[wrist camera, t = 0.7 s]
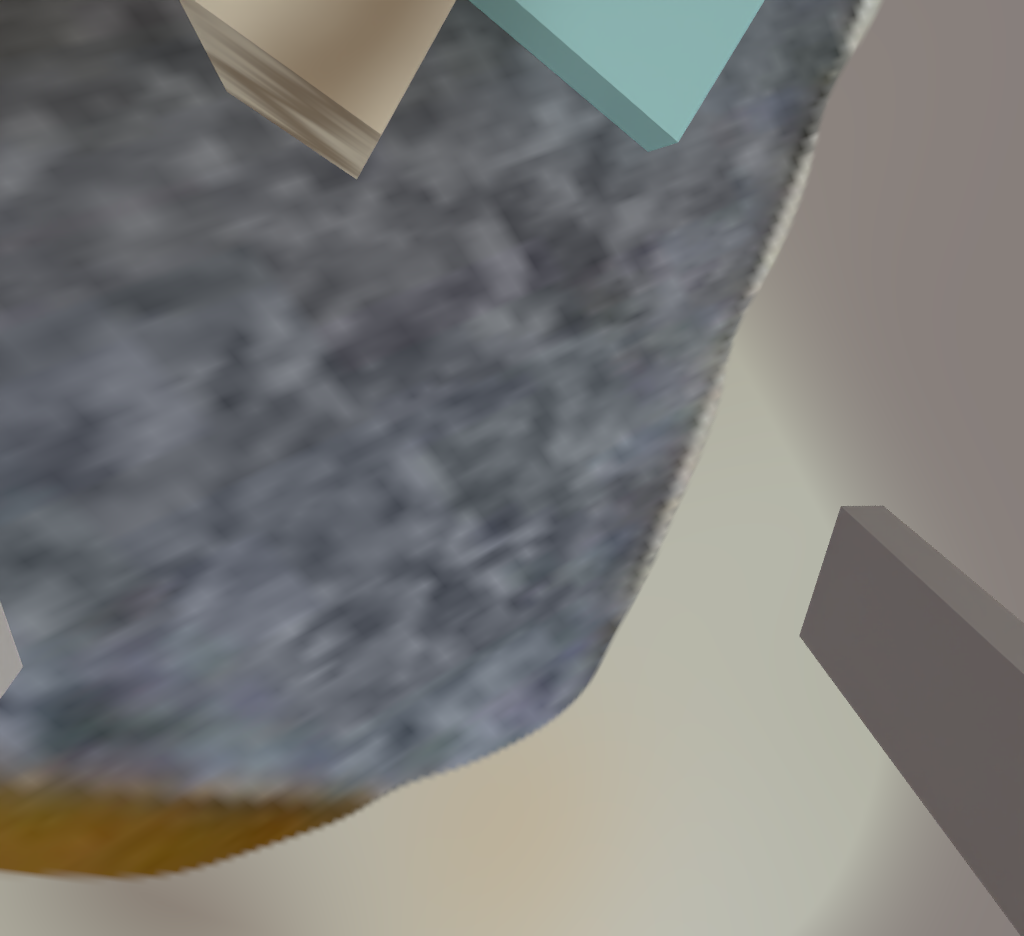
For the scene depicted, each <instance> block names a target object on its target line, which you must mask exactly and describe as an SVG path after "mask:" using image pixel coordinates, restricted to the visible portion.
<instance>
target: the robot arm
mask: <svg viewBox="0 0 1024 936" xmlns="http://www.w3.org/2000/svg"><path fill="white" fill-rule="evenodd" d="M800 637H801V639H802V640H803V641H804V643H805V644H806V645H807V647H808V648H809V649H810V651H811V652H812V653H813V655H814V656H815V658H816V659H817V660H818V662H819V663H820V664H821V666H822V667H823V668H824V670H825V671H826V673H827V674H828V675H829V677H830V678H831V679H832V681H833V682H834V683H835V685H836V686H837V687H838V689H839V690H840V691H841V693H842V694H843V696H844V697H845V698H846V700H847V701H848V702H849V704H850V705H851V706H852V708H853V709H854V710H855V712H856V713H857V714H858V716H859V717H860V719H861V720H862V721H863V723H864V724H865V725H866V727H867V728H868V729H869V731H870V732H871V733H872V735H873V736H874V738H875V739H876V740H877V741H878V743H879V744H880V746H881V747H882V748H883V750H884V751H885V752H886V754H887V755H888V757H889V758H890V759H891V761H892V762H893V763H894V765H895V766H896V767H897V769H898V770H899V771H900V773H901V774H902V776H903V777H904V778H905V779H906V781H907V782H908V784H909V785H910V786H911V788H912V789H913V790H914V792H915V793H916V795H917V796H918V797H919V799H920V800H921V801H922V803H923V804H924V805H925V807H926V808H927V809H928V811H929V812H930V813H931V815H932V816H933V818H934V819H935V820H936V822H937V823H938V824H939V826H940V827H941V828H942V830H943V831H944V832H945V834H946V835H947V837H948V838H949V839H950V841H951V842H952V843H953V845H954V846H955V847H956V849H957V850H958V851H959V853H960V854H961V855H962V857H963V858H964V860H965V861H966V862H967V864H968V865H969V866H970V868H971V869H972V870H973V872H974V873H975V874H976V876H977V877H978V878H979V880H980V881H981V883H982V884H983V885H984V887H985V888H986V889H987V891H988V892H989V893H990V895H991V896H992V897H993V899H994V900H995V902H996V903H997V904H998V906H999V907H1000V908H1001V910H1002V911H1003V912H1004V914H1005V915H1006V917H1007V918H1008V919H1009V921H1010V922H1011V923H1012V925H1013V926H1014V927H1015V929H1016V930H1017V931H1018V933H1019V934H1020V936H1024V623H1023V622H1022V621H1021V620H1019V619H1018V618H1017V617H1016V616H1015V615H1013V614H1012V613H1011V612H1010V611H1008V610H1007V609H1006V608H1005V607H1004V606H1003V605H1001V604H1000V603H999V602H998V601H997V600H995V599H994V598H993V597H992V596H991V595H989V594H988V593H987V592H986V591H985V590H984V589H982V588H981V587H980V586H979V585H978V584H976V583H975V582H974V581H973V580H971V579H970V578H969V577H968V576H967V575H965V574H964V573H963V572H962V571H961V570H960V569H958V568H957V567H956V566H955V565H954V564H952V563H951V562H950V561H949V560H947V559H946V558H945V557H944V556H943V555H942V554H940V553H939V552H938V551H937V550H936V549H934V548H933V547H932V546H931V545H930V544H928V543H927V542H926V541H925V540H923V539H922V538H921V537H920V536H919V535H918V534H916V533H915V532H914V531H913V530H911V529H910V528H909V527H908V526H907V525H906V524H904V523H903V522H902V521H901V520H900V519H898V518H897V517H896V516H895V515H894V514H892V513H891V512H890V511H889V510H888V509H886V508H885V507H884V506H841V508H840V511H839V514H838V517H837V520H836V523H835V527H834V530H833V533H832V536H831V539H830V542H829V545H828V548H827V551H826V555H825V558H824V561H823V564H822V567H821V570H820V573H819V576H818V580H817V583H816V586H815V589H814V592H813V595H812V598H811V601H810V605H809V608H808V611H807V614H806V617H805V620H804V623H803V626H802V629H801V633H800ZM22 667H23V666H22V663H21V660H20V657H19V654H18V651H17V648H16V646H15V643H14V640H13V637H12V634H11V631H10V628H9V625H8V622H7V620H6V617H5V614H4V611H3V608H2V605H1V602H0V698H1V697H2V695H3V694H4V693H5V691H6V690H7V688H8V687H9V686H10V684H11V683H12V681H13V680H14V679H15V677H16V676H17V674H18V673H19V672H20V670H21V669H22Z"/></svg>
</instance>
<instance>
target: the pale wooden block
mask: <svg viewBox="0 0 1024 936" xmlns="http://www.w3.org/2000/svg"><path fill="white" fill-rule="evenodd" d="M179 1H180V3H181V4H182V6H183V8H184V10H185V12H186V14H187V16H188V18H189V20H190V22H191V24H192V26H193V27H194V29H195V31H196V33H197V35H198V37H199V39H200V41H201V43H202V45H203V47H204V49H205V51H206V52H207V54H208V56H209V58H210V60H211V62H212V64H213V66H214V68H215V70H216V72H217V74H218V76H219V77H220V79H221V81H222V83H223V85H224V87H225V89H226V91H227V92H229V93H230V94H231V95H233V96H234V97H236V98H237V99H239V100H240V101H242V102H243V103H245V104H246V105H248V106H249V107H251V108H252V109H254V110H255V111H257V112H258V113H259V114H261V115H262V116H264V117H265V118H267V119H268V120H270V121H271V122H273V123H274V124H276V125H277V126H279V127H280V128H282V129H283V130H285V131H286V132H287V133H289V134H290V135H292V136H293V137H295V138H296V139H298V140H299V141H301V142H302V143H304V144H305V145H307V146H308V147H310V148H311V149H313V150H314V151H315V152H317V153H318V154H320V155H321V156H323V157H324V158H326V159H327V160H329V161H330V162H332V163H333V164H335V165H336V166H338V167H339V168H341V169H342V170H343V171H345V172H346V173H348V174H349V175H351V176H352V177H354V178H355V179H357V178H358V176H359V174H360V173H361V171H362V169H363V167H364V165H365V164H366V162H367V160H368V158H369V156H370V155H371V153H372V151H373V149H374V147H375V146H376V144H377V142H378V140H379V138H380V137H381V135H382V133H383V131H384V129H385V128H386V126H387V124H388V122H389V120H390V119H391V117H392V115H393V113H394V111H395V110H396V108H397V106H398V104H399V102H400V101H401V99H402V97H403V95H404V93H405V92H406V90H407V88H408V86H409V84H410V83H411V81H412V79H413V77H414V75H415V74H416V72H417V70H418V68H419V66H420V65H421V63H422V61H423V59H424V57H425V55H426V54H427V52H428V50H429V48H430V46H431V45H432V43H433V41H434V39H435V37H436V36H437V34H438V32H439V30H440V28H441V27H442V25H443V23H444V21H445V19H446V17H447V16H448V14H449V12H450V10H451V8H452V7H453V5H454V3H455V1H456V0H179Z"/></svg>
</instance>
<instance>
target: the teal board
mask: <svg viewBox="0 0 1024 936" xmlns="http://www.w3.org/2000/svg"><path fill="white" fill-rule="evenodd" d="M469 1H470V2H471V3H473V4H474V5H475V6H476V7H477V8H479V9H480V10H481V11H482V12H483V13H484V14H486V15H487V16H488V17H489V18H490V19H492V20H493V21H494V22H495V23H496V24H497V25H499V26H500V27H501V28H502V29H503V30H505V31H506V32H507V33H508V34H509V35H510V36H512V37H513V38H514V39H515V40H516V41H518V42H519V43H520V44H521V45H522V46H523V47H525V48H526V49H527V50H528V51H529V52H531V53H532V54H533V55H534V56H535V57H536V58H538V59H539V60H540V61H541V62H542V63H544V64H545V65H546V66H547V67H548V68H549V69H551V70H552V71H553V72H554V73H555V74H557V75H558V76H559V77H560V78H561V79H562V80H564V81H565V82H566V83H567V84H568V85H570V86H571V87H572V88H573V89H574V90H575V91H577V92H578V93H579V94H580V95H581V96H583V97H584V98H585V99H586V100H587V101H588V102H590V103H591V104H592V105H593V106H594V107H596V108H597V109H598V110H599V111H600V112H601V113H603V114H604V115H605V116H606V117H607V118H609V119H610V120H611V121H612V122H613V123H614V124H616V125H617V126H618V127H619V128H620V129H622V130H623V131H624V132H625V133H626V134H628V135H629V136H630V137H631V138H632V139H633V140H635V141H636V142H637V143H638V144H639V145H641V146H642V147H643V148H644V149H645V150H646V151H648V152H649V151H652V150H656V149H659V148H662V147H665V146H668V145H671V144H674V143H678V142H679V140H680V138H681V137H682V135H683V133H684V132H685V130H686V128H687V127H688V125H689V124H690V122H691V120H692V119H693V117H694V115H695V114H696V112H697V110H698V109H699V107H700V105H701V104H702V102H703V101H704V99H705V97H706V96H707V94H708V92H709V91H710V89H711V87H712V86H713V84H714V82H715V81H716V79H717V78H718V76H719V74H720V73H721V71H722V69H723V68H724V66H725V64H726V63H727V61H728V59H729V58H730V56H731V54H732V53H733V51H734V50H735V48H736V46H737V45H738V43H739V41H740V40H741V38H742V36H743V35H744V33H745V31H746V30H747V28H748V27H749V25H750V23H751V22H752V20H753V18H754V17H755V15H756V13H757V12H758V10H759V8H760V7H761V5H762V4H763V2H764V0H469Z"/></svg>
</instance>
